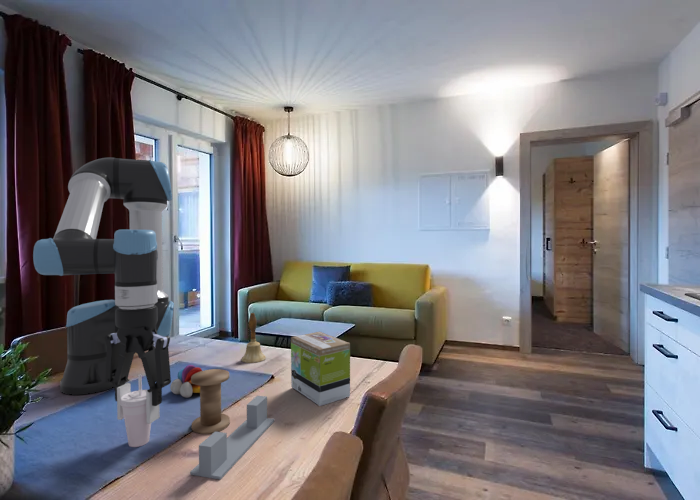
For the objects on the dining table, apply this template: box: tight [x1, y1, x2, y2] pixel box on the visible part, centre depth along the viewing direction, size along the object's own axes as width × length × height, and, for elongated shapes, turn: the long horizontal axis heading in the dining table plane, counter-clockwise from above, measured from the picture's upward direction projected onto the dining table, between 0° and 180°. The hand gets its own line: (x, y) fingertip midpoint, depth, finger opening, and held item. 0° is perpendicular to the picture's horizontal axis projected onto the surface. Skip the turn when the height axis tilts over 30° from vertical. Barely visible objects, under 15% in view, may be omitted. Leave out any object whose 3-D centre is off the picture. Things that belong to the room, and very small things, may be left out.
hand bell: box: [240, 312, 267, 364], centre depth 133 cm, size 8×8×16 cm
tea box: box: [290, 331, 351, 407], centre depth 105 cm, size 15×10×15 cm, turn 37°
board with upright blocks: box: [189, 395, 275, 480], centre depth 78 cm, size 6×22×6 cm, turn 166°
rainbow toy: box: [169, 364, 203, 399], centre depth 105 cm, size 8×10×7 cm
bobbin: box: [191, 368, 231, 435], centre depth 87 cm, size 8×8×11 cm
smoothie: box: [120, 373, 152, 448], centre depth 79 cm, size 6×6×14 cm
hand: (138, 418), depth 79 cm, fingers closed on smoothie, 6 cm apart
